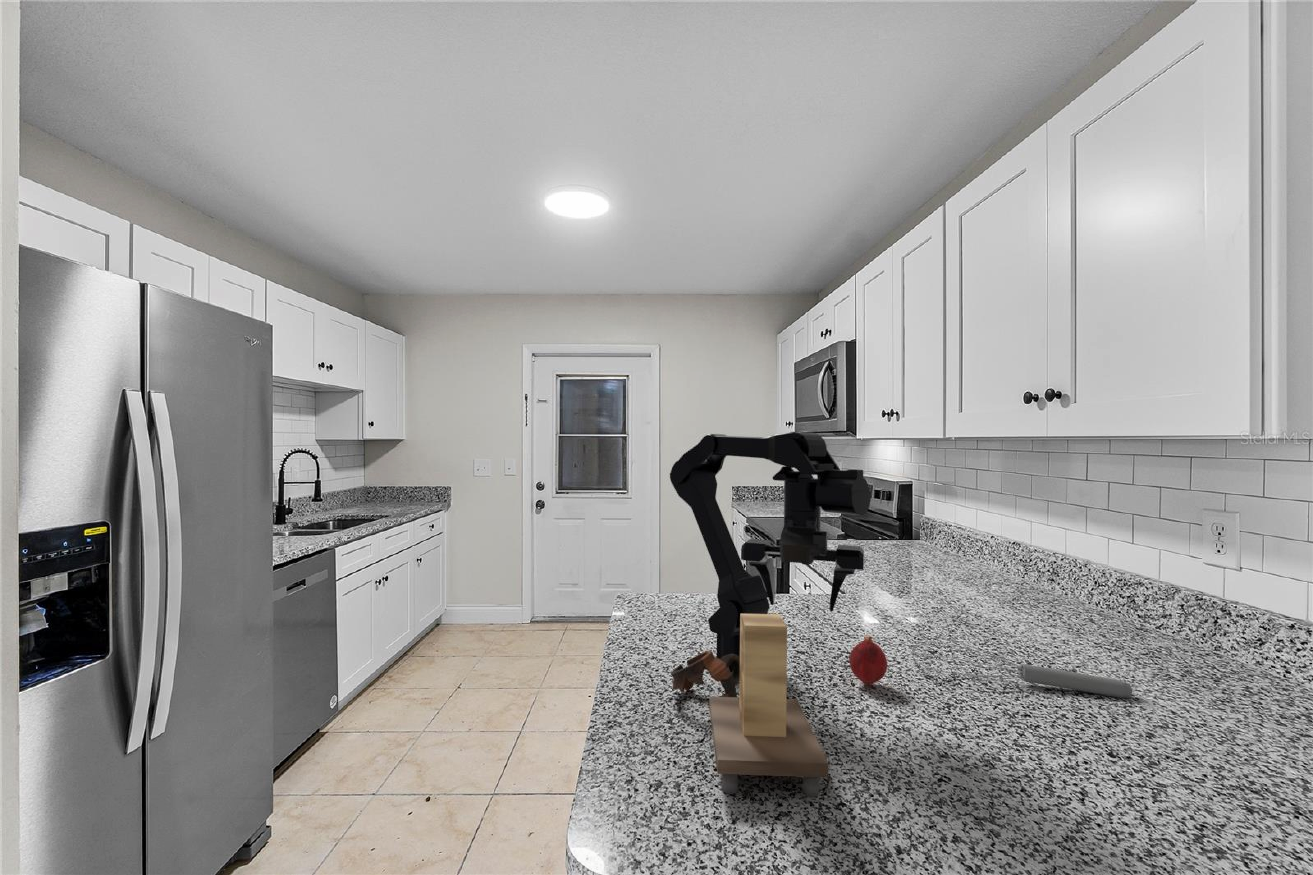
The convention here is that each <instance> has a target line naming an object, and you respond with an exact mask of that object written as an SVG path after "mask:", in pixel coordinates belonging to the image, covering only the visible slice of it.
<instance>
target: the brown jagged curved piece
mask: <svg viewBox="0 0 1313 875" xmlns="http://www.w3.org/2000/svg"><path fill="white" fill-rule="evenodd" d="M730 663H732V665H733V671H732V672H731V671H730V670H729V665H730ZM686 664H687V666H685V667H684V666H683V664H679V665H678V666H676V667H675V668H674V669H673V670H672V671H671V672H670V675H671V676H672V679H673V683H672V690H679V692H681V693H685V691H686V692H689V691H690V690H691V689H692V688H693V687H694V684H695V685H697V686H703V685H705V682H704V679H703V678H704V672H705V670H706V671H707V672H708V673H709V675H710V677H711V678H712V679H713V680H714V681H715V682H720V684H721V686H722V688H723V690H724V694H723V695H722V696H720V697H738V694H737V688H736V687H737V685H738V683H740V658H739V657H738V656H737V655H735V654H728V655H726V656H724V657H722V658H720V659H718V658H717V657H715V656H714V653H713V651H712V650H706V651H704V652H702V653H699V654H697V655H695V656H693V657H691V658H690V659H687V661H686Z"/></svg>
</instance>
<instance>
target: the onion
mask: <svg viewBox="0 0 1313 875" xmlns="http://www.w3.org/2000/svg"><path fill="white" fill-rule="evenodd" d="M848 662H849V666H850V669H851V671H852V673H853V675H854V676H855V678H856V679H858V680H859V681H860V682H861V683H863V685H864V686H866V687H867V686H872V685H873V684H876V683H877V682H878V681H881V679H883V677H884V676H885V674H887V670H888V660H887V656H886V655H885V653H884V650H882V648H881V647H880V646H879V645H878V644H876V643H875V642H873V637H872V636H870V635H868V634H867V635H865V636H864V639H863V641H861V642H859V643H857V644H856V645H855V646H854V647H853V648H852V650H851V651H850V654H849V660H848Z"/></svg>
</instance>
